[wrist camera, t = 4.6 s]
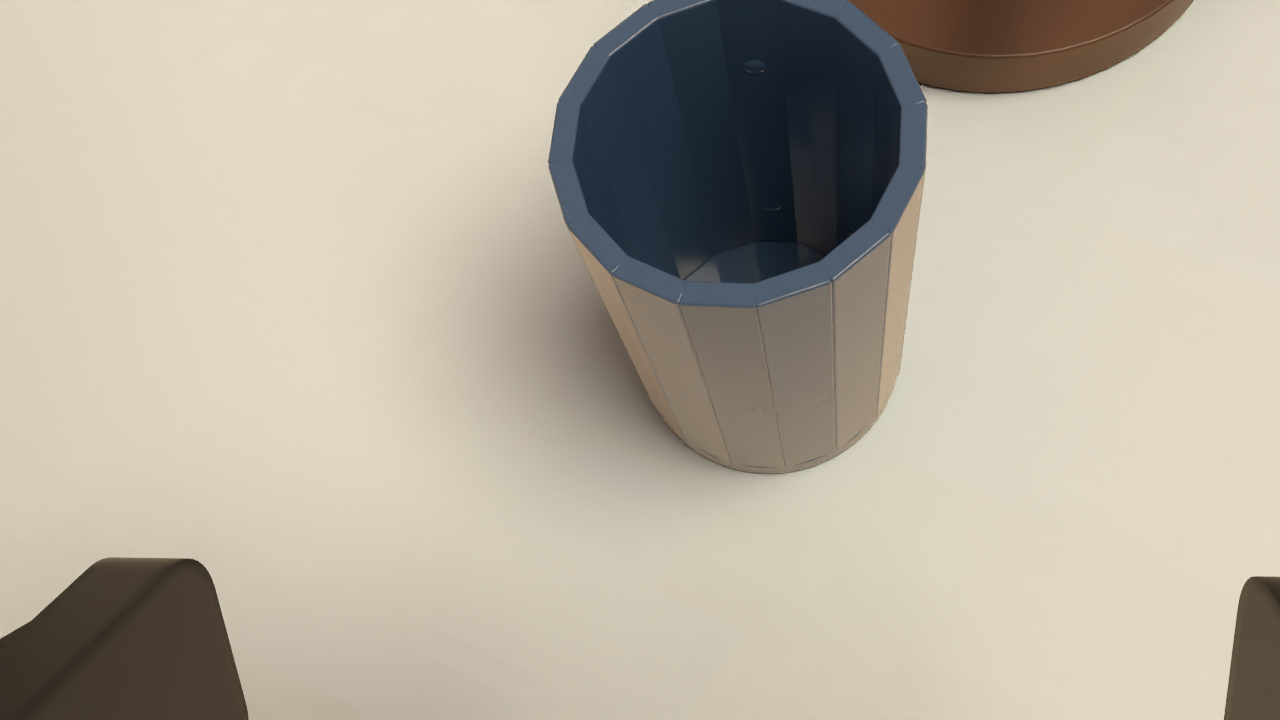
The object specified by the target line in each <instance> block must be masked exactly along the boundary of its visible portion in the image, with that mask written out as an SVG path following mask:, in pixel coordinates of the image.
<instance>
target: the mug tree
mask: <svg viewBox="0 0 1280 720" xmlns="http://www.w3.org/2000/svg"><path fill="white" fill-rule="evenodd" d="M849 1H850V2H851V3H853V4H854V5H855V6H856V7H857V8H859V9H860V10H861V11H862V12H863V13H864V14H866V15H867V16H868V17H869V18H870V19H872V20H873V21H874V22H875V23H876V24H877V25H879V26H880V27H881V28H882V29H883V30H885V31H886V32H887V33H888V34H889V35H890V36H892V37H893V38H894V39H895V40H896V41H897V42H898V43H899V45H900V46H901V47H902V49H903V51H904V53H905V56H906V58H907V60H908V62H909V64H910V66H911V69H912V71H913V73H914V75H915V77H916V79H917V82H919V83H923V84H926V85H930V86H934V87H940V88H946V89H952V90H958V91H969V92H987V93H997V92H1016V91H1027V90H1033V89H1039V88H1045V87H1052V86H1056V85H1060V84H1063V83H1067V82H1070V81H1074V80H1078V79H1081V78H1084V77H1087V76H1089V75H1092V74H1094V73H1097V72H1099V71H1102V70H1104V69H1106V68H1109V67H1111V66H1113V65H1115V64H1117V63H1119V62H1120V61H1122V60H1124V59H1126V58H1128V57H1130V56H1131V55H1133V54H1135V53H1137V52H1138V51H1140V50H1141V49H1143V48H1144V47H1145V46H1147V45H1148V44H1149V43H1151V42H1152V41H1154V40H1155V39H1156V38H1158V37H1159V36H1160V35H1162V34H1163V33H1164V32H1165V31H1166V30H1167V29H1168V28H1169V27H1170V26H1171V25H1172V24H1173V23H1174V22H1175V21H1176V20H1178V19H1179V18H1180V17H1181V16H1182V14H1183V13H1184V12H1185V11H1186V9H1187V8H1188V7H1189V6H1190V4H1191V3H1192V2H1193V1H1194V0H848V2H849Z"/></svg>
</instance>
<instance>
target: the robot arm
mask: <svg viewBox="0 0 1280 720" xmlns="http://www.w3.org/2000/svg"><path fill="white" fill-rule="evenodd" d="M0 720H248V711H247V706H246V702H245V698H244V695H243V691H242V687H241V684H240V680H239V676H238V672H237V669H236V665H235V661H234V657H233V654H232V650H231V646H230V642H229V639H228V635H227V631H226V627H225V624H224V620H223V616H222V613H221V609H220V605H219V601H218V598H217V594H216V590H215V587H214V584H213V581H212V578H211V576H210V574H209V572H208V571H207V569H206V568H205V567H204V566H203V565H202V564H201V563H200V562H198V561H196V560H194V559H176V558H105V559H102V560H100V561H98V562H96V563H94V564H93V565H92V566H90V567H89V568H88V569H87V570H86V571H85V572H84V573H83V574H82V575H81V576H79V577H78V578H77V579H76V580H75V581H74V582H73V583H72V584H71V585H70V586H69V587H68V588H66V589H65V590H64V591H63V592H62V593H61V594H60V595H59V596H58V597H57V598H56V599H55V600H53V601H52V602H51V603H50V604H49V605H48V606H47V607H46V608H45V609H44V610H43V611H42V612H40V613H39V614H38V615H37V616H36V617H35V618H34V619H33V620H32V621H30V622H29V623H27V624H25V625H24V626H22V627H20V628H18V629H17V630H15V631H13V632H12V633H10V634H8V635H6V636H5V637H3V638H1V639H0ZM1224 720H1280V577H1251V578H1249V579H1248V580H1247V582H1246V583H1245V584H1244V587H1243V589H1242V592H1241V595H1240V599H1239V605H1238V611H1237V619H1236V627H1235V635H1234V643H1233V651H1232V659H1231V667H1230V675H1229V683H1228V691H1227V699H1226V707H1225V715H1224Z"/></svg>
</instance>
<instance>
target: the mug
mask: <svg viewBox="0 0 1280 720" xmlns="http://www.w3.org/2000/svg"><path fill="white" fill-rule="evenodd" d="M927 108H928V106H927V104H926V99H925V97H924V94H923V92H922V90H921V88H920V86H919V84H918V82H917V79H916V77H915V75H914V73H913V71H912V69H911V66H910V64H909V62H908V60H907V58H906V56H905V53H904V51H903V49H902V47H901V46H900V45H899V43H898V42H897V41H896V40H895V39H894V38H893V37H892V36H890V35H889V34H888V33H887V32H886V31H885V30H883V29H882V28H881V27H880V26H879V25H877V24H876V23H875V22H874V21H873V20H872V19H870V18H869V17H868V16H867V15H866V14H864V13H863V12H862V11H861V10H860V9H859V8H857V7H856V6H855V5H854V4H853V3H851V2H850V1H849V2H848V0H653V1H651V2H649V3H648V5H647V4H645V5H643V6H642V7H641V8H639V9H638V10H637V11H636V12H634V13H633V14H632V15H630V16H629V17H628V18H627V19H625V20H624V21H623V22H621V23H620V24H619V25H617V26H616V27H615V28H614V29H612V30H611V31H610V32H608V33H607V34H606V35H605V36H603V37H602V38H601V39H599V40H598V41H597V42H596V43H595V44H594V46H592V47H591V48H590V50H589V51H588V53H587V55H586V56H585V58H584V59H583V61H582V63H581V64H580V66H579V68H578V69H577V71H576V72H575V74H574V76H573V77H572V79H571V80H570V82H569V84H568V85H567V87H566V88H565V90H564V92H563V93H562V95H561V97H560V98H559V102H558V103H557V108H556V115H555V121H554V128H553V134H552V141H551V147H550V154H549V160H548V163H549V171H550V174H551V177H552V181H553V184H554V187H555V191H556V194H557V197H558V201H559V204H560V207H561V211H562V214H563V217H564V221H565V224H566V226H567V228H568V230H569V232H570V234H571V236H572V238H573V240H574V242H575V245H576V247H577V249H578V251H579V253H580V255H581V257H582V259H583V261H584V263H585V265H586V267H587V269H588V271H589V273H590V275H591V278H592V280H593V282H594V284H595V286H596V288H597V290H598V292H599V294H600V296H601V298H602V300H603V302H604V304H605V306H606V308H607V311H608V313H609V315H610V317H611V319H612V321H613V323H614V325H615V327H616V329H617V331H618V333H619V335H620V337H621V339H622V341H623V344H624V346H625V348H626V350H627V352H628V354H629V356H630V358H631V360H632V362H633V364H634V366H635V368H636V370H637V372H638V374H639V377H640V379H641V381H642V383H643V385H644V387H645V389H646V391H647V393H648V395H649V397H650V399H651V401H652V403H653V405H654V407H655V408H656V409H657V410H658V411H659V413H660V414H661V416H662V418H663V419H664V420H665V422H666V423H667V424H668V426H669V427H670V428H671V430H672V431H673V432H674V433H675V434H676V435H677V436H678V437H679V438H680V439H681V440H682V441H683V442H684V443H685V444H687V445H688V446H689V447H691V448H692V449H693V450H694V451H696V452H697V453H699V454H701V455H702V456H704V457H706V458H708V459H709V460H711V461H714V462H716V463H718V464H721V465H723V466H726V467H729V468H733V469H737V470H741V471H745V472H753V473H785V472H793V471H798V470H802V469H806V468H810V467H813V466H815V465H818V464H820V463H823V462H825V461H828V460H830V459H832V458H833V457H835V456H837V455H839V454H841V453H842V452H844V451H845V450H847V449H848V448H849V447H851V446H852V445H853V444H855V443H856V442H857V441H858V440H859V439H860V438H861V437H862V436H863V435H864V434H865V433H866V432H867V431H869V429H870V428H871V427H872V425H873V424H874V423H875V422H876V420H877V419H878V418H879V416H880V415H881V413H882V411H883V410H884V408H885V406H886V404H887V403H888V400H889V398H890V395H891V393H892V391H893V388H894V384H895V380H896V378H897V376H898V374H899V370H900V363H901V355H902V347H903V340H904V332H905V324H906V316H907V309H908V301H909V293H910V285H911V278H912V270H913V262H914V254H915V247H916V239H917V231H918V223H919V216H920V208H921V200H922V192H923V185H924V177H925V169H926V141H927Z"/></svg>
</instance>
